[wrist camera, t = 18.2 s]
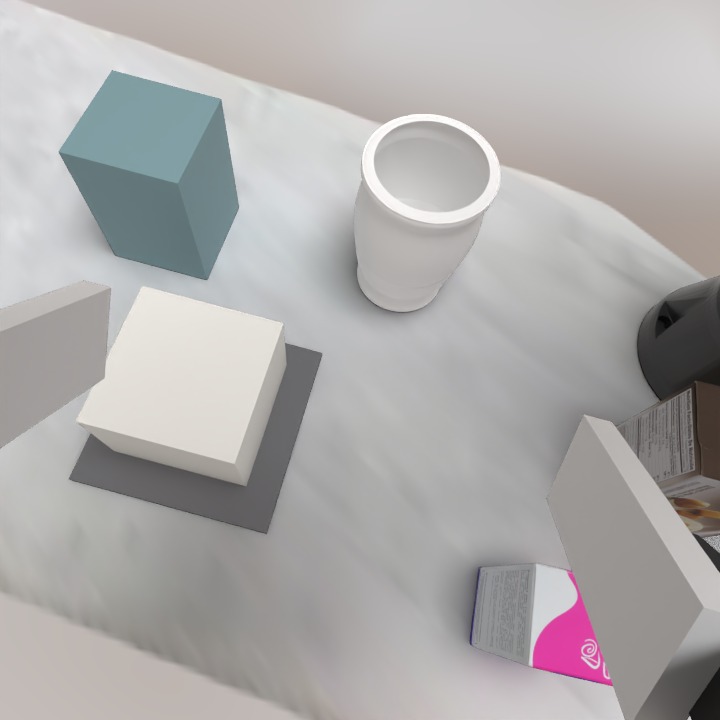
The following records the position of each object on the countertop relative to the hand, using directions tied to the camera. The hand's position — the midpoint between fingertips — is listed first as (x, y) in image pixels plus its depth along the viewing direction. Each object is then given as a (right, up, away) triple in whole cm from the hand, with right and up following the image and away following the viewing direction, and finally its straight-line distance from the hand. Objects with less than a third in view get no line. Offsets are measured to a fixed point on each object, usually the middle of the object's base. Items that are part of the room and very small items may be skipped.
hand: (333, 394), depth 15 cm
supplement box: (+12, -19, +27) cm, 35 cm away
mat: (-12, -4, +31) cm, 33 cm away
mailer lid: (-12, -3, +31) cm, 33 cm away
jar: (+5, +9, +39) cm, 40 cm away
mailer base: (-17, +14, +38) cm, 44 cm away
